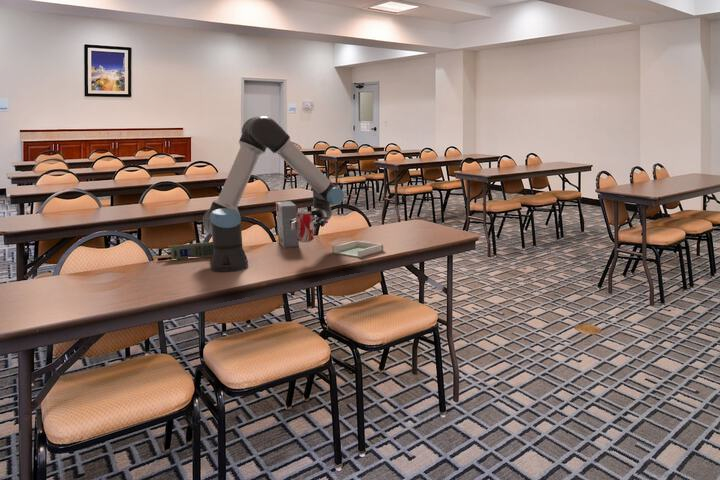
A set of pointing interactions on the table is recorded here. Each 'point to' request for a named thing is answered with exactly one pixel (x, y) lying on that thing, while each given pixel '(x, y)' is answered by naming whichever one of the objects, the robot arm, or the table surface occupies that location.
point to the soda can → (304, 226)
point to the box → (357, 249)
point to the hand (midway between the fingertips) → (301, 226)
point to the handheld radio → (189, 251)
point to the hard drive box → (286, 224)
